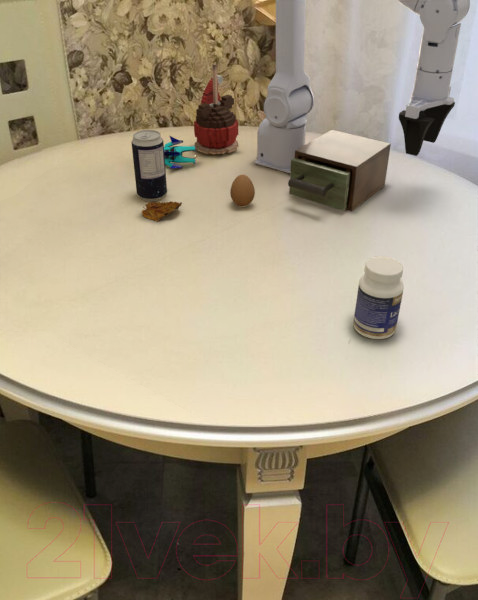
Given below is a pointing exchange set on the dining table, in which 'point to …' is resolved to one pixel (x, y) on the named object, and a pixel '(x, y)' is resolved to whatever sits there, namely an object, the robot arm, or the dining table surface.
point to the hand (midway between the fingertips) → (420, 147)
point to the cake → (215, 120)
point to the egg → (242, 191)
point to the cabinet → (352, 161)
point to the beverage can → (149, 165)
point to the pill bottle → (379, 298)
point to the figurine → (177, 153)
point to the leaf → (159, 209)
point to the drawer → (320, 182)
